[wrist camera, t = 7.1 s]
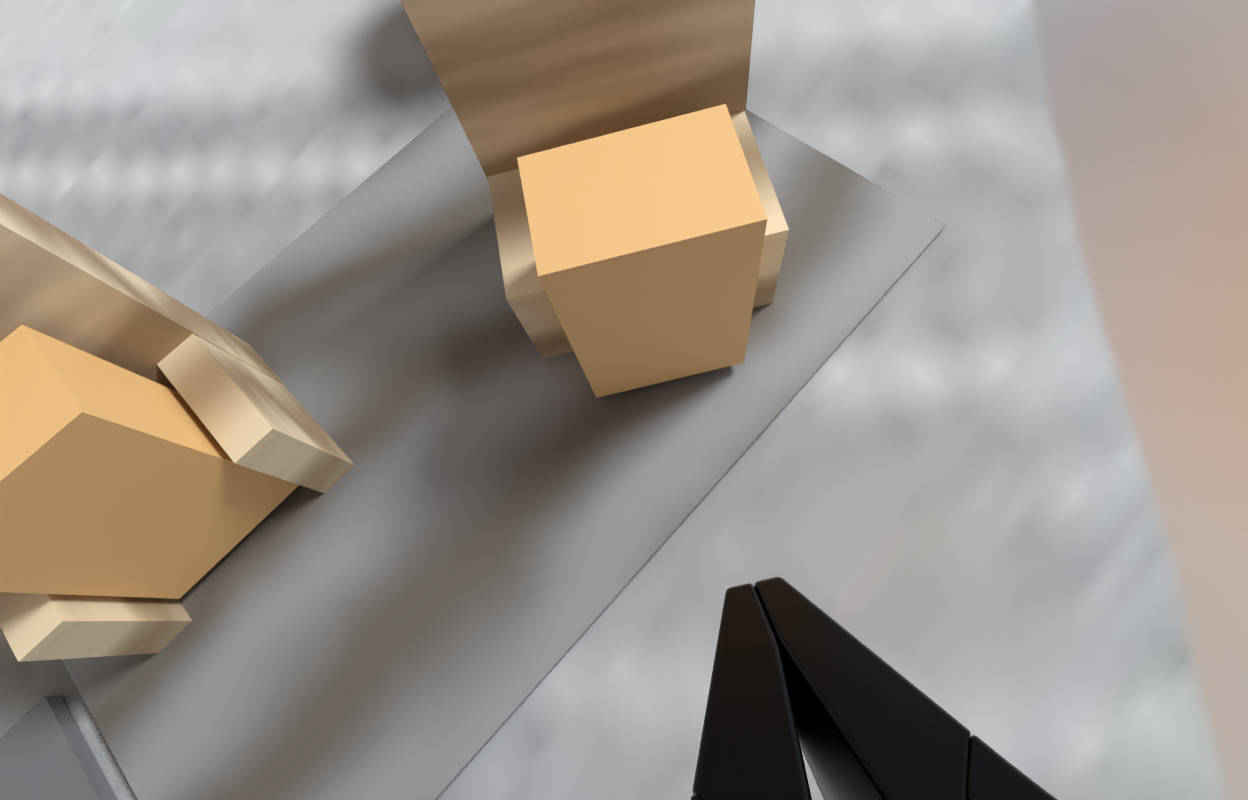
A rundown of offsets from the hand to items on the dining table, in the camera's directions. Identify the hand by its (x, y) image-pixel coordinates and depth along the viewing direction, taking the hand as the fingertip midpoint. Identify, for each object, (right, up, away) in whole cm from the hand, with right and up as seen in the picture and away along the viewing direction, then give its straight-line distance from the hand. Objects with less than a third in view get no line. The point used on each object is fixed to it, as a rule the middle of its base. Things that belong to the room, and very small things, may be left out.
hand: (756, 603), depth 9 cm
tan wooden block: (0, +6, +16) cm, 17 cm away
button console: (-9, +4, +17) cm, 19 cm away
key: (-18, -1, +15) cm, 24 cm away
